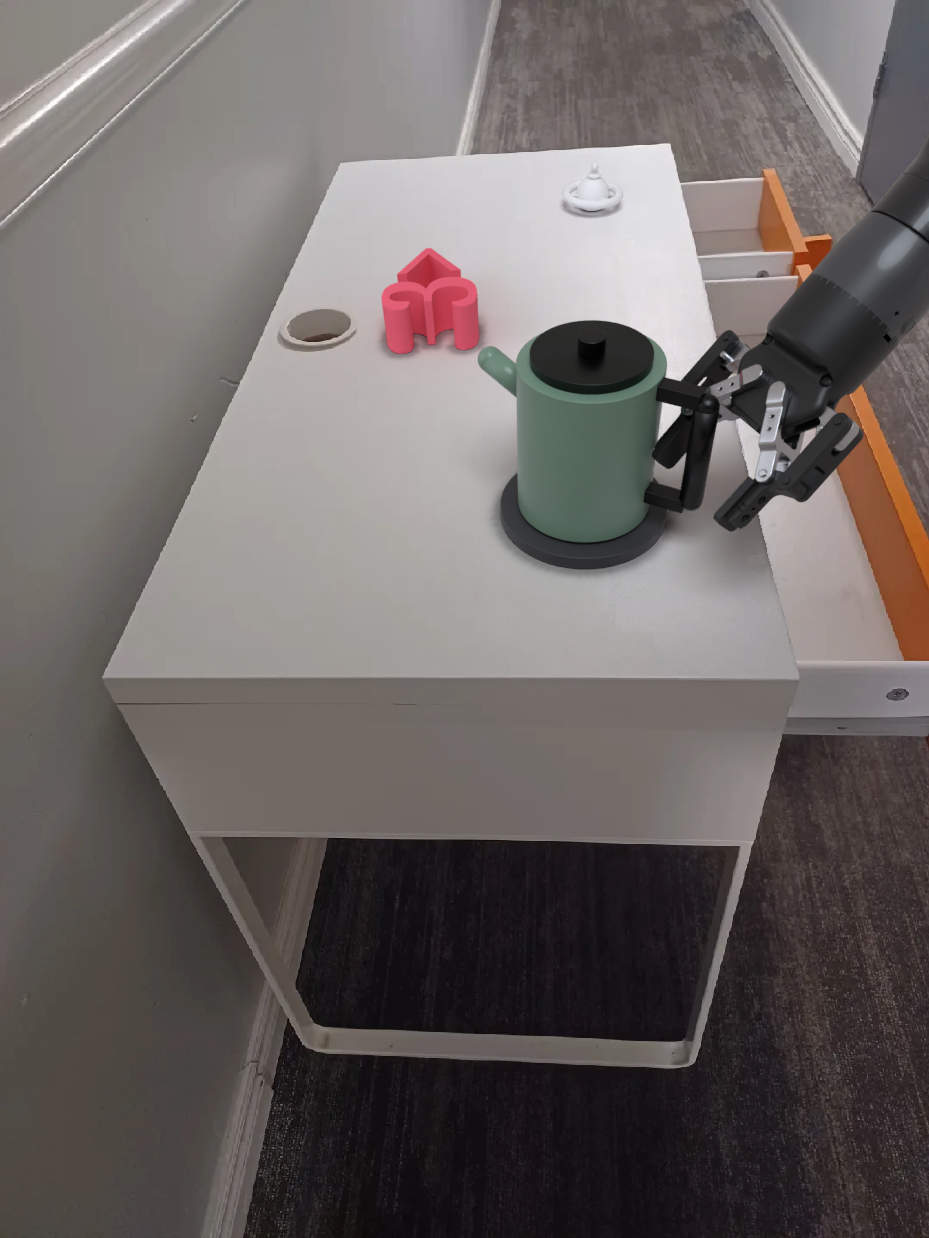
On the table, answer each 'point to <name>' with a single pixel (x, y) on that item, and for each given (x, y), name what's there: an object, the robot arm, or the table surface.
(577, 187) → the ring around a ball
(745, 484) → the robot arm
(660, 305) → the table surface
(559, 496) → the kettle
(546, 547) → the kettle base
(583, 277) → the table surface
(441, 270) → the pink curled block
